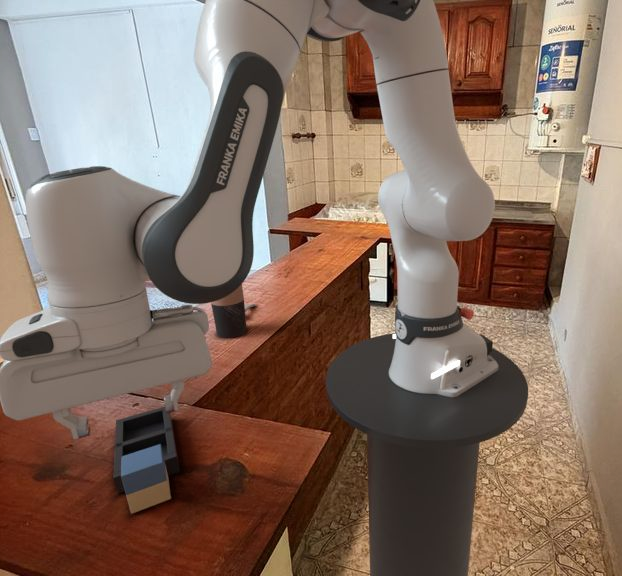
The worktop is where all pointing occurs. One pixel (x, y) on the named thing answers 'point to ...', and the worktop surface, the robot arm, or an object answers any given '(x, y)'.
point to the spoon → (249, 307)
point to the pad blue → (143, 469)
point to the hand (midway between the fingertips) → (129, 421)
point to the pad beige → (149, 496)
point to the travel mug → (230, 315)
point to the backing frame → (145, 440)
